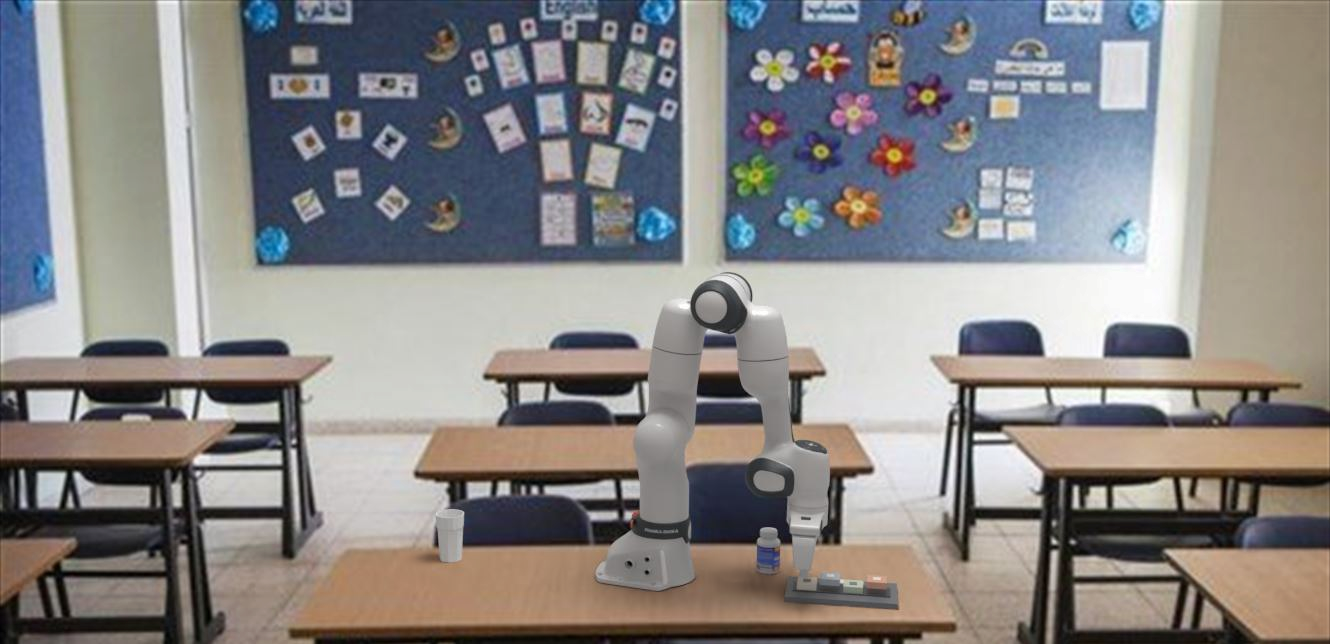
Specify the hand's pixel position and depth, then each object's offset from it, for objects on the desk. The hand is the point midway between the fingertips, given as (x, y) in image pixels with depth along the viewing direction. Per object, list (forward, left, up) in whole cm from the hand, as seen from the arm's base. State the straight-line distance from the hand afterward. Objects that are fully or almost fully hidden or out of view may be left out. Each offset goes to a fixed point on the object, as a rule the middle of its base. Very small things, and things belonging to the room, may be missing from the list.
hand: (804, 575), depth 273 cm
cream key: (+1, 0, -2) cm, 3 cm away
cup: (-83, +6, -4) cm, 83 cm away
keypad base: (+8, 0, -4) cm, 9 cm away
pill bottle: (-9, +12, -4) cm, 16 cm away
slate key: (+6, 0, -1) cm, 6 cm away
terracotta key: (+16, 0, -1) cm, 16 cm away
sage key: (+11, 0, -2) cm, 11 cm away
